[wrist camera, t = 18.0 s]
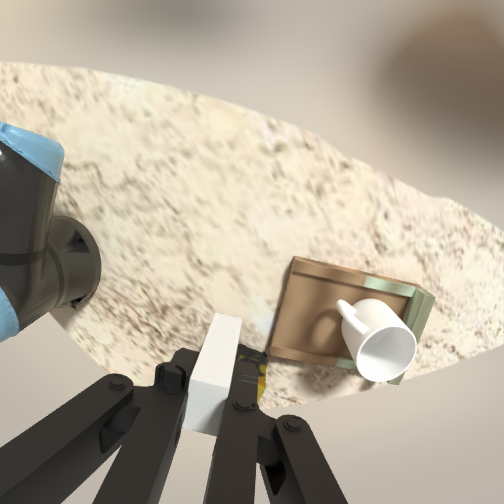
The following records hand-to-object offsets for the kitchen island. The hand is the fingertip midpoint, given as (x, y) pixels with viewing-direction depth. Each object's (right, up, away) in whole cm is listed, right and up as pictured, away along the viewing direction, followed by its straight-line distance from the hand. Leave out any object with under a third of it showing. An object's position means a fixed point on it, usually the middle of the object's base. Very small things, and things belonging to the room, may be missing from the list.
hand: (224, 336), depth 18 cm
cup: (+17, -5, +28) cm, 34 cm away
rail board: (+16, -5, +30) cm, 35 cm away
